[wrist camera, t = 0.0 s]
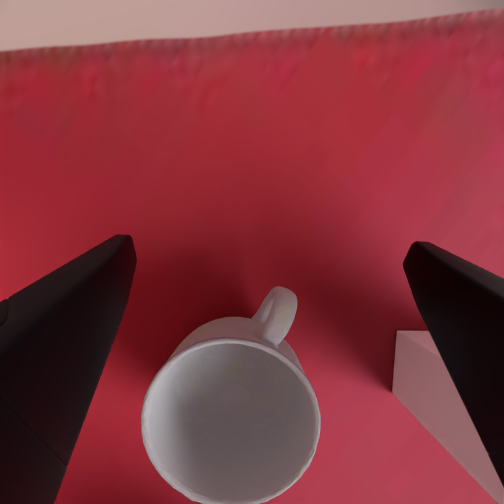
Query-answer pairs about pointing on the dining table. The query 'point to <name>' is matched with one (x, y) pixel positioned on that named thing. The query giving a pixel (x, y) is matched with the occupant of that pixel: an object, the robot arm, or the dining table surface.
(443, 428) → the milk
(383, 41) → the dining table surface
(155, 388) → the teacup
